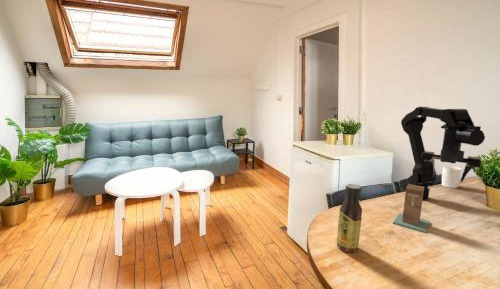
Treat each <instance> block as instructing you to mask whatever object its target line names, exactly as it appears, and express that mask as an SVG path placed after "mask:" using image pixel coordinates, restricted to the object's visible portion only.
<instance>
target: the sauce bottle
mask: <svg viewBox="0 0 500 289" xmlns="http://www.w3.org/2000/svg"><path fill="white" fill-rule="evenodd" d="M361 191H362V187H361V186H360V185H359V184H356V183H348V184H346V185H345V197H344V200H343V202H342V204H341V206H340V208H339V212H338V222H337V223H338V224H337V233H336V245H337V248H338V249H339V250H341V251H343V252H345V253H355V252H357V251H358V247H359V244H360V235H361V227H362V215H363V209H362V208H363V207H362V206H361V204H360V193H361Z"/></svg>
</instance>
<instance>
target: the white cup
mask: <svg viewBox="0 0 500 289" xmlns="http://www.w3.org/2000/svg"><path fill="white" fill-rule="evenodd" d="M462 170H463V168H461V167H458V166H452V165H443V166H442V170H441V171H442V172H441V186H442V187H446V188H450V189H457V188H458V186H459V183H460V181H461V176H462Z"/></svg>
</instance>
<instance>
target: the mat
mask: <svg viewBox="0 0 500 289" xmlns="http://www.w3.org/2000/svg"><path fill="white" fill-rule="evenodd" d="M402 219H403V213H401V212H400V213H398V215H397V216H396V217H395V218H394V220H393V221H392V224H393V225H396V226H400V227H404V228H407V229H411V230H414V231H417V232H420V233H424V234H425V233H426V232H427V230H428V228H429V226H430V223H431V221H430V220H427V219H422V218H420V222H419V225H418V226H417V225H413V224H409V223H405V222H402Z"/></svg>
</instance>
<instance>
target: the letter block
mask: <svg viewBox="0 0 500 289" xmlns="http://www.w3.org/2000/svg"><path fill="white" fill-rule="evenodd" d="M423 192H424V187H421V186H416V185H412V184H410V183H408V184H407V186H406V187H405V193H404V194H405V196H404V203H403V204H404V205H403V212H402V214H403V219H402V222H405V223H409V224H413V225H417V226H418V225H419V222H420V219H421V214H422V207H423V206H422V205H423V200H422V199H423Z"/></svg>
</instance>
